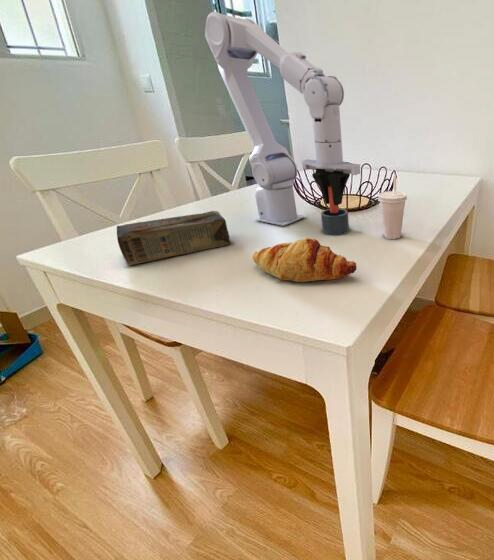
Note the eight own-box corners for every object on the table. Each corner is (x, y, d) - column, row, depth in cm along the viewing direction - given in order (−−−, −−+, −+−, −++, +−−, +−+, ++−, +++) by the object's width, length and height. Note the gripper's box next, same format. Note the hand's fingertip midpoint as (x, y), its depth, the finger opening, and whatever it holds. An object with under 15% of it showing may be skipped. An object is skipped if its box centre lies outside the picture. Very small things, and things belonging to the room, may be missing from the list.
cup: (317, 232, 82) (315, 214, 80) (333, 224, 87) (331, 207, 84) (338, 236, 79) (337, 217, 77) (353, 228, 84) (352, 210, 82)
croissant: (249, 287, 65) (226, 262, 59) (271, 247, 70) (252, 219, 64) (353, 301, 60) (340, 275, 53) (368, 256, 65) (359, 227, 59)
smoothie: (403, 242, 76) (404, 178, 70) (375, 240, 77) (373, 176, 71) (408, 232, 82) (409, 172, 75) (382, 230, 83) (381, 170, 76)
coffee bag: (233, 245, 75) (225, 215, 72) (126, 268, 65) (113, 235, 62) (224, 234, 80) (217, 207, 77) (125, 254, 70) (112, 224, 67)
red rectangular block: (328, 212, 80) (325, 186, 78) (333, 210, 82) (331, 184, 79) (335, 213, 80) (333, 187, 77) (340, 211, 81) (338, 185, 78)
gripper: (289, 141, 73) (298, 203, 80) (345, 145, 67) (349, 212, 74) (311, 138, 79) (317, 196, 85) (364, 141, 73) (366, 204, 79)
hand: (333, 203), depth 80 cm, fingers closed on red rectangular block, 2 cm apart
